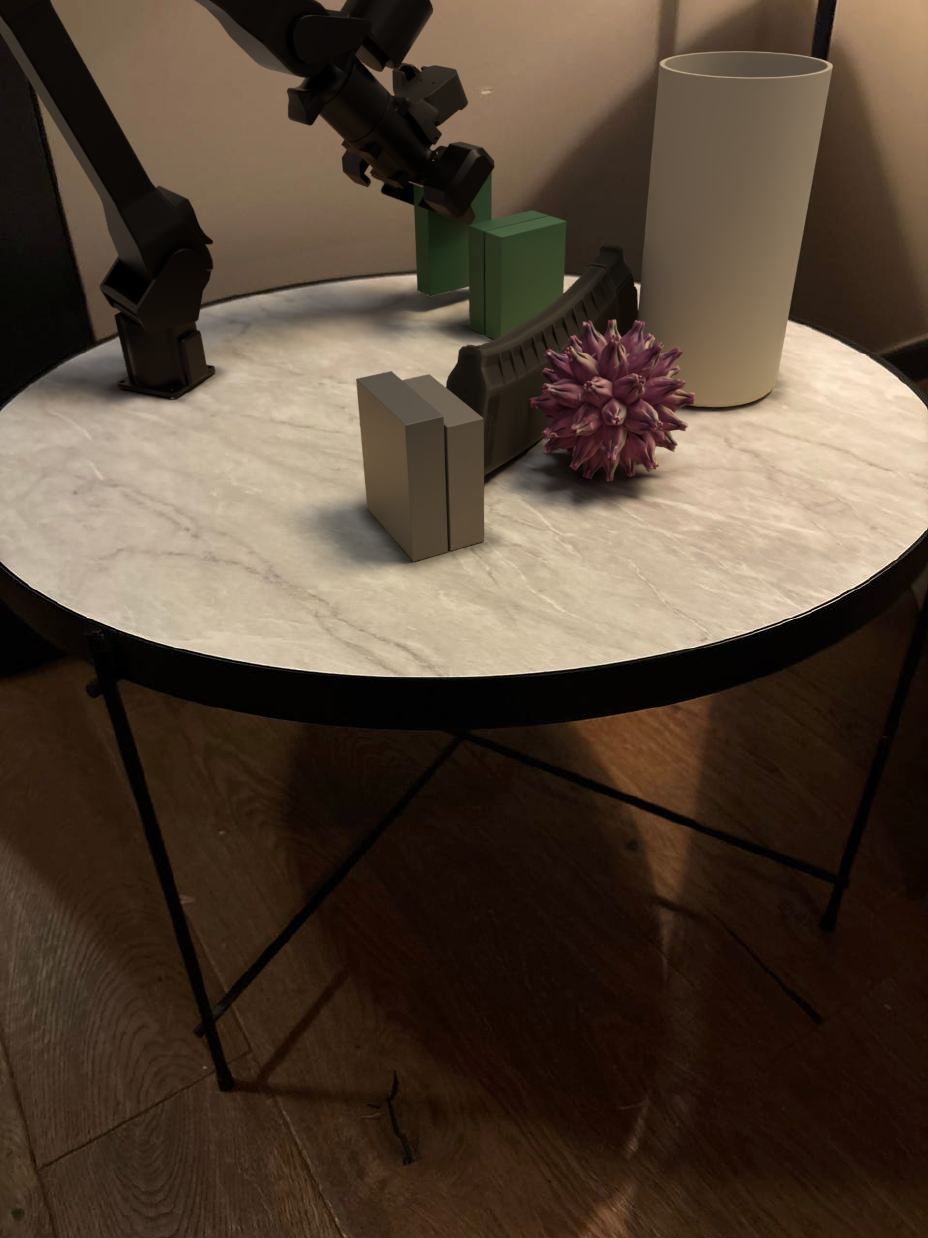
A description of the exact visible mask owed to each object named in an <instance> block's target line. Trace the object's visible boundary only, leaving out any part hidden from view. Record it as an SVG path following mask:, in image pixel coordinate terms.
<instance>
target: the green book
mask: <svg viewBox="0 0 928 1238" xmlns="http://www.w3.org/2000/svg"><path fill="white" fill-rule="evenodd" d="M492 178H493V171H492V172H491V174H490V175H489V177H488V178H487V180H486V181H485V183H484V185H483V186H482V188H481V189H480V191H479V192H478V194H477V195H476V197H475V199H474V200H473V202H472V203H471V207H472V209H473V212H474V214H475V219H474V221H473V222H472V224H476V223H480V222H485V221H489V220H493V219H492V217H493V216H492V213H493V212H492V211H493V210H492V206H493V205H492V202H493V200H492V199H493V198H492V197H493V196H492V195H493V194H492V193H493V192H492V191H493V190H492V189H493V188H492V184H493V182H492V181H493V179H492ZM413 191H414V205H413V212H414V213H413V215H414V238H415V266H416V267H415V268H416V289H417V292H419V293H421V294H424V295H425V296H428V297H430V298H431V297H434V296H435V297H436V296H440V295H442V294H446V293H450V292H454V291H458V290H462V289H465V288H469V258H468V225H466V224H464V223H461V222H458V221H455V220H453V219H450V218H447V217H444V216H442V215H439V214H436V213H434V212H431V211H428V210H425V209H423V208H420V207H418V206H417V205H418V204H419V202H420V200H421V199H422V197H423V196H424V192H423V187H421V186H418V185H415V184H413ZM472 224H471V225H472Z"/></svg>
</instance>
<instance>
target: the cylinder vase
mask: <svg viewBox="0 0 928 1238" xmlns="http://www.w3.org/2000/svg"><path fill="white" fill-rule="evenodd" d="M658 67H659V68H658V79H657V88H656V89H657V90H656V101H655V114H654V125H653V126H654V127H653V136H652V148H651V161H650V171H649V182H648V195H647V206H646V216H645V217H646V218H645V229H644V242H643V250H642V251H643V252H642V263H641V273H640V286H639V296H638V319H637V321H640V322H642V321H645V326H644V329H643V338H644V337H645V336H646V335H647V334H650V335H653V337H654V338H655V339H654V341H653V343H652V347H653V346H654V345H655V344H656V343H657V342H661V343H662V345H664V348H663V349H662V350H661V352H660V353H666V352H669V351H671V350H672V349H674V348H676V347H679V351H681V350H683V353H682V355H681V356H680V357H679V358H678V359H677V360H676V361H675V362H674V364H673V365H672V367H674V366H677V365H678V366H679V368H680V372H679V373H678V374H676V375H675V376H674V377H673V379H674V380H676V379H682V380H683V381H685V383H686V384H685V385H684V387H683V388H681V389H680V390H682V391H684V392H689V393H695V396H694V398H695V401H694V402H695V403H694V404H690V405H689V406H692V407H697V408H698V407H699V408H728V407H736V406H741V405H746V404H749V403H752V402H755V401H757V400H760V399H761V398H763V397H765V396H767V395H768V394H769V393H770V392H772V390H773V389H774V387H775V386H776V384H777V382H778V377H779V372H780V365H781V360H782V354H783V348H784V344H785V338H786V332H787V328H788V327H787V326H788V320H789V315H790V310H791V304H792V298H793V292H794V286H795V282H796V275H797V270H798V266H799V265H798V264H799V259H800V253H801V247H802V241H803V236H804V231H805V225H806V219H807V214H808V207H809V204H810V203H809V202H810V196H811V190H812V185H813V180H814V174H815V170H816V169H815V168H816V164H817V158H818V151H819V147H820V140H821V135H822V131H823V124H824V117H825V114H826V113H825V112H826V106H827V100H828V96H829V91H830V90H829V89H830V84H831V78H832V73H833V67H834V66H833V64H832V63H831V62H830V61H827V60H824V59H822V58H819V57H818V58H817V57H812V56H809V55H808V56H806V55H802V54H795V53H794V54H792V53H785V52H784V53H782V52H769V51H768V52H767V51H742V50H741V51H739V50H738V51H708V52H706V51H705V52H694V53H686V54H685V53H684V54H680V55H674V56H669V57H667V58H664V59H662V60H661V61H660V62H659V66H658Z"/></svg>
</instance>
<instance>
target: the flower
mask: <svg viewBox="0 0 928 1238" xmlns="http://www.w3.org/2000/svg"><path fill="white" fill-rule="evenodd" d="M644 326H645V321H642V322H640V321H637V320H635V322H634V324H633V326H632V328H631V329H630V330H629V331H628V332H627V334H625V335H624V336H623V337H622V338H621V336H620V335H619V333H618V331H617V326H616V320H615V319H614V320H611V321H610V320H609V321H608V327H607V330H606V332H605V334H604V336H602V335H601V334H600V333H598V332H597V331H596V330H595V329H594V327H593V324H592V322H591V321H588V323H587V322H583V331H584V335H583V341H582V342H581V341H579V340H578V338H577V337H576V336H575V335H574V336H571V337H570V339H568V341H569V343H570V347H568V348H567V349H566V351H565V353H566V354H559V353H555V352H554V351H552V350H550V349H548V350H547V351H546V353H544V354H543V355H544V356H545V358H546V359H547V360H548V361H549V362H550V363H551V366H552V368H553V370H550V369H547V368H544V370H543V371H542V376H544V377H546V378H547V379H549V381H550V382H551V383H552V384H544V386H543V387H542V388H543V392H544V394H542V395H541V396H539V397H535V398H530V399H529V401H530V402H531V403H530V404H531V406H530V407H531V408H537V409H540V410H542V411H543V412H545V416H546V418H554V419H553V421H552V423H551V425H550V426H549V427H548V428H547V429H545V430H544V431H542V433H543V437H542V438H544V440H545V441H547V440H548V441H547V442H545V444H544V446H543V448H545V451H544V452H545V453H546V454H551V453H552V452H555V451H558V450H559V451H560V450H566V451H567V453H568V454H570V455H572V460H571V462H570V464H569V467H570V468H571V469H572V470H574V471H577V470H578V469H579V467H580V466H581V465H582V468H583V470H582V471H583V472H582V478H585V479H587V480H588V479H589V480H592V478H593V477H594V474H595V472H597V471H598V470H599V469H600V468H601V467H603V469H604V472H605V475H606V482H611V481H613V480H614V474H615V471H616V469H617V466H618V465H620V466H622V468H623V469H624V472H625V474H626V476H627V477H629V478H632V477H633V476H634V477H635V475H636V468H635V467H636V463H637V464H640V465H641V466H643V467H644V468H645V470H646V471H647V472H648V473H650V472H651V471H652V470H655V471H656V470H657V468H659V467H660V466H659V463H658V461H657V459H656V447H658V448H665V449H666V450H668V451H670V452H674V453H675V450H676V447H677V446H678V441H676V439H674V438H673V435H672V433H671V432H674V431H681V432H687V431H686V429H687V428H688V427H689V424H688V423H687V422H685V421H683V420H681V419H680V418H679V417H678V416H677V415H676V414H675V413H676V412H677V411H678V410H679V409H681V408H683V407H685V406H690V404H694V403H695V402H694V401H695V398H694V396H695V393H689V392H684V391H682V390H680V389H681V388H683V387H684V385H685V384H686V383H685V381H683V380H682V379H676V380H674V379H673V377H674V376H675V375H676V374H678V373H679V372H680V368H679V366H678V365H677V366H674V367H672V365H673V364H674V362H675V361H676V360H677V359H678V358H679V357H680V356H681V355H682V353H683V350H681V351H679V347H676V348H674V349H672V350H671V351H669V352H666V353H660V352H661V350H662V349H663V348H664V345H662V343H661V342H657V343H656V344H655V345H654V346H653V347H652V343H653V341H654V339H655V338H654V337H653V335H650V334H647V335H646V336H645V337H644V338H643V329H644Z"/></svg>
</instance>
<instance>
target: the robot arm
mask: <svg viewBox="0 0 928 1238" xmlns="http://www.w3.org/2000/svg"><path fill="white" fill-rule="evenodd" d="M194 1H195V2H196V3H198V4H199V5H200V6H202V7H203V8H204V9H206V10H207V11H208V12H209V13H210V14H211V15H212V16H213V17H214V18H215V19H216V20H217V21H218V22H219V24H220V25H221V27H222V28H223V30H224V31H225V32H226V33H227V35H228V36H229V38H230V39H231V40H232V41H233V42H234V43H236V44H237V45H238V46H239V48H241V49H242V50H243V52H244V53H245V54H247V55H248V56H249V57H250V58H251V59H252V61H253V62H255V63H256V64H257V65H258V66H260V67H263V68H265V69H267V70H271V71H274V72H278V73H282V74H286V75H290V76H295V77H298V78H303V80H302V82H301V83H300V84H299V85H298V86H295V87H288V88H287V89H286V94H287V97H288V102H287V103H288V104H287V118H288V120H290V121H291V122H292V121H293V122H296V123H299V124H302V125H306V126H309V127H310V126H313V125H314V124H315V122H316V120H317V119H318V117H320V118H322V119H323V121H325V122H326V123H327V124H328V125H329V126H330V127H331V128H332V129H333V130H334V131H335V132H336V133H337V134H338V135H339V136H340V137H341V138H342V139H343V140H342V142H341V143H340V145H341V146H342V147H343V148H344V149H345V151H344V152H343V155H342V156H341V167H342V172H343V173H344V174H345V175H346V176H347V177H348V178H349V179H350V180H351V181H353V183H355V184H357V185H360V186H363V187H365V188H369V187H370V185H371V184H372V180H371V178H370V177H369V176H368V175H367V174H366V172H367V170H368V168H369V167H371V169H370V171H369V174H370V176H371V177H372V178H373V179H375V180H376V181H377V180H378V181H381V182H382V183H383V184H382V185H381V188H380V194H381V195H384V196H387V197H390V198H392V199H395V200H397V201H400V202H403V203H406V204H408V205H412V206H414V191H413V184H415V185H418V186H421V187H423V192H424V196H423V197H422V199H421V200H420V202H419V204H418V205H417V206H418V207H420V208H423V209H425V210H428V211H431V212H434V213H436V214H439V215H442V216H444V217H447V218H450V219H453V220H455V221H458V222H461V223H464V224H466V225H471V224H472V222H473V221H474V219H475V214H474V212H473V209H472V207H471V203H472V202H473V200H474V199H475V197H476V195H477V194H478V192H479V191H480V189H481V188H482V186H483V185H484V183H485V181H486V180H487V178H488V177H489V175H490V174H491V172H492V173H493V170H494V169H495V160H494V159H493V158H492V156H491V155H490V154H489V153H488V152H487V150H486V149H485V148H484V147H482V146H478V145H474V144H472V143H467V142H464V141H456V142H451V143H448V145H447V146H446V145H439V146H437V147H436V148H435V149H431V147H432V146H436V145H437V143H438V142H439V140H440V139H441V137H442V136H443V133H442V131H441V130H440V129H439V128H438V127H439V126H441V125H442V124H444V123H445V122H447V120H449V119H450V118H452V117H453V116H454V115H455V114H456V113H457V112H458V111H463V110H464V109H465V108H466V107H468V104H469V100H468V96H467V94H466V92H465V89H464V86H463V84H462V81H461V78H460V76H459V73H458V71H457V69H455V68H453V67H447V66H443V65H437V64H434V65H429V66H428V65H427V66H426V65H422V66H421V67H420V69H419V68H418V67H417V66H415V64H412V63H407V62H404V60H405V58H406V57H407V55H408V54H409V52H410V50H411V49H412V47H413V45H414V44H415V43H416V41H417V39H418V38H419V36H420V34H421V32H423V30H424V28H425V26H426V25H427V23H428V22H429V20H430V18H431V17H432V15H433V14H434V7H433V4H432V2H431V0H345V2H344V4H343V5H342V7H341V8H340V10H334V9H328V8H326V7H325V6H324V5H323V4H322V3H321V2H319V1H317V0H194ZM0 35H1V36H2V38H3V40H4V42H5V43H6V45H7V46H8V48H9V50H10V51H11V53H12V55H13V57H14V58H15V61H17V63H18V64H19V66H20V68H21V69H22V71H23V74H24V75H25V76H26V78H27V80H28V81H29V83H30V84H31V86H32V87H33V89H34V91H35V93H36V95H37V96H38V97H39V99H40V101H41V102H42V104H43V106H44V108H45V109H46V111H47V112H48V114H49V116H50V117H51V119H52V121H53V122H54V124H55V126H56V127H57V129H58V130H59V132H60V134H61V135H62V137H63V139H64V141H65V142H66V144H67V146H68V147H69V148H70V150H71V152H72V153H73V156H74V157H75V159H76V160H77V162H78V163H79V165H80V167H81V169H82V170H83V172H84V174H85V175H86V177H87V179H88V180H89V182H90V183H91V185H92V187H93V188H94V190H95V192H96V193H97V195H98V197H99V199H100V201H101V204H102V209H103V212H104V217H105V222H106V226H107V231H108V234H109V236H110V238H111V241H112V243H113V246H114V248H115V251H116V253H117V257H116V259H115V260H114V261H113V263H112V265H111V266H110V268H109V270H108V271H107V273H106V275H105V276H104V278H103V280H102V281H101V283H100V284H99V289H100V292H101V293H102V295H103V297H104V298H105V300H106V301H107V303H108V304H109V306H110V307H112V308H113V309H116V310H117V311H119V312H118V313H116V314H114V315H113V316H114V322H115V325H116V330H117V334H118V339H119V342H120V343H119V344H120V347H121V351H122V355H123V356H122V357H123V360H124V365H125V369H126V373H127V375H126V376H124V377H122V378H121V379H119V380H117V382H116V385H117V388H119V389H124V390H128V391H134V392H138V393H139V392H140V393H145V394H150V395H156V396H161V397H166V398H178V397H179V396H181V395H183V394H184V393H186V392H187V391H189V390H191V389H192V388H193V387H195V386H196V385H198V384H199V383H201V382H202V381H204V380H205V379H207V378H209V377H211V376H212V375H213V374H215V373H216V366H215V365H212V364H207V359H206V353H205V348H204V343H203V336H202V332H201V330H200V329H198V327H197V322H198V321H199V320H200V314H201V307H202V300H203V294H204V290H205V289H206V288H207V286H208V283H209V282H210V279H211V276H212V275H211V274H212V271H213V270H214V260H213V257H212V253H211V252H210V249H209V248H208V245H213V244H214V240H213V239H212V238H211V237H209V236H208V235H207V234H206V233H205V232H204V230H203V229H202V227H201V225H200V222H199V220H198V217H197V215H196V212H195V209H194V207H193V205H192V203H191V201H190V200H189V198H187V197H185V196H183V195H181V194H179V193H177V192H174V191H172V190H170V189H168V188H166V187H164V186H162V185H157V186H156V185H154V183H153V182H152V180H151V179H150V177H149V175H148V173H147V172H146V170H145V168H144V166H143V164H142V163H141V161H140V159H139V157H138V156H137V154H136V152H135V150H134V148H133V147H132V145H131V143H130V141H129V140H128V137H127V136H126V135H125V132H124V131H123V129H122V127H121V125H120V124H119V121H118V119H117V118H116V116H115V114H114V112H113V110H112V109H111V108H110V105H109V104H108V101H107V100H106V98H105V96H104V94H103V93H102V91H101V89H100V88H99V86H98V84H97V82H96V81H95V79H94V77H93V75H92V73H91V71H90V70H89V68H88V65H86V63H85V61H84V59H83V57H82V55H81V54H80V52H79V51H78V48H77V46H76V45H75V43H74V41H73V39H72V37H71V35H70V34H69V33H68V31H67V29H66V27H65V25H64V23H63V22H62V19H61V17H60V16H59V15H58V12H57V11H56V9H55V7H54V5H53V3H52V1H51V0H0ZM369 68H370V69H371V70H373V71H375V72H378V73H382V72H383V71H384V69H385V68H388V69H391V76H392V78H391V79H392V92H393V94H394V95H392V94H391V92H389V90H388V89H386V87H385V86H384V85H383V84H382V83H381V81H379V80H378V78H376V76H375V75H374V74H373V73H372V72H371V71H370V70H369Z"/></svg>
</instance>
